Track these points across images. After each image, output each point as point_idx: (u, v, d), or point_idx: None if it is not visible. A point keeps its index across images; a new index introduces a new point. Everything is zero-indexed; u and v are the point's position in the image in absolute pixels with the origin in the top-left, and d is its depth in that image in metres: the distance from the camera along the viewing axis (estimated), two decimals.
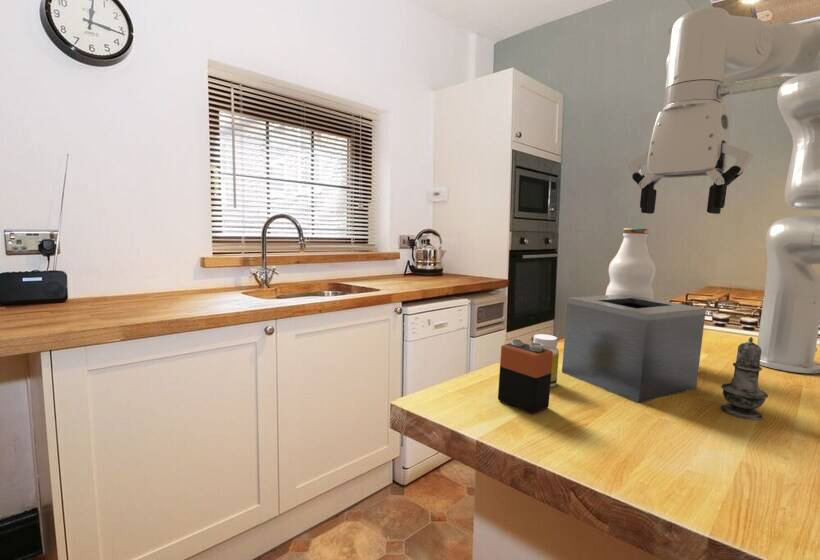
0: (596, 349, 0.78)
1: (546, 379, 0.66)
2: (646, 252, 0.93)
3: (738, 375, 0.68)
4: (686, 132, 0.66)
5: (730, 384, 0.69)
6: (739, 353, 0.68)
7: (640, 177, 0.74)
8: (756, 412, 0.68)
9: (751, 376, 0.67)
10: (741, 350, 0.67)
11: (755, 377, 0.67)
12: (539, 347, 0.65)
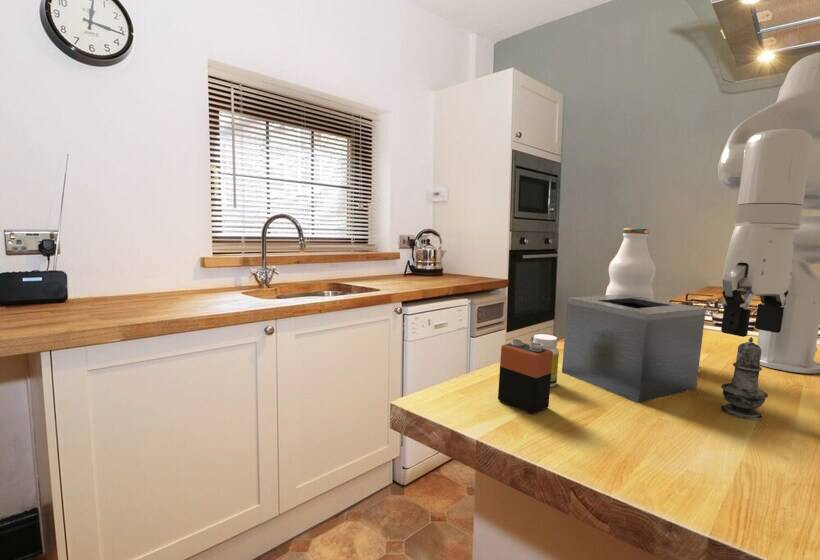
0: (596, 349, 0.78)
1: (546, 379, 0.66)
2: (646, 252, 0.93)
3: (738, 375, 0.68)
4: (783, 255, 0.64)
5: (730, 384, 0.69)
6: (739, 353, 0.68)
7: (740, 295, 0.62)
8: (756, 412, 0.68)
9: (751, 376, 0.67)
10: (741, 350, 0.67)
11: (755, 377, 0.67)
12: (539, 347, 0.65)
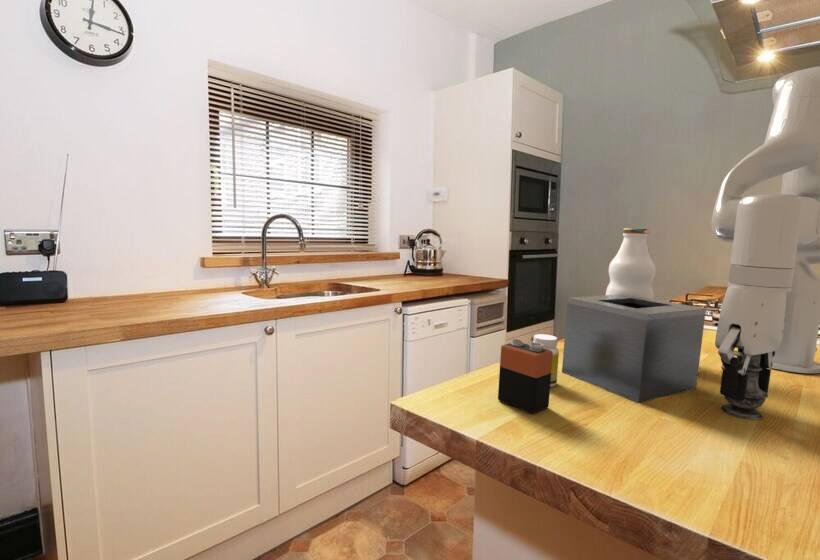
0: (596, 349, 0.78)
1: (546, 379, 0.66)
2: (646, 252, 0.93)
3: None
4: (775, 315, 0.65)
5: None
6: None
7: None
8: (756, 412, 0.68)
9: (751, 376, 0.67)
10: (741, 350, 0.67)
11: (755, 377, 0.67)
12: (539, 347, 0.65)
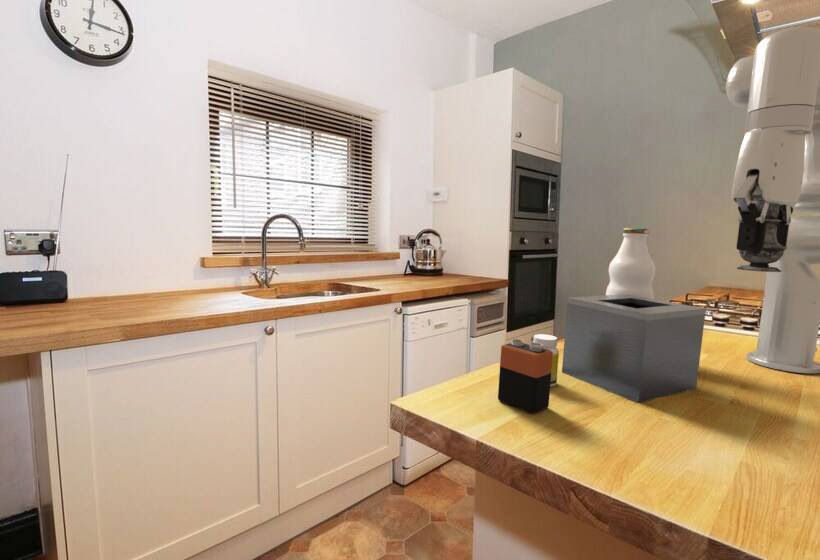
0: (596, 349, 0.78)
1: (546, 379, 0.66)
2: (646, 252, 0.93)
3: None
4: (794, 161, 0.63)
5: None
6: None
7: (756, 207, 0.62)
8: (774, 267, 0.65)
9: (769, 227, 0.64)
10: None
11: (773, 229, 0.64)
12: (539, 347, 0.65)
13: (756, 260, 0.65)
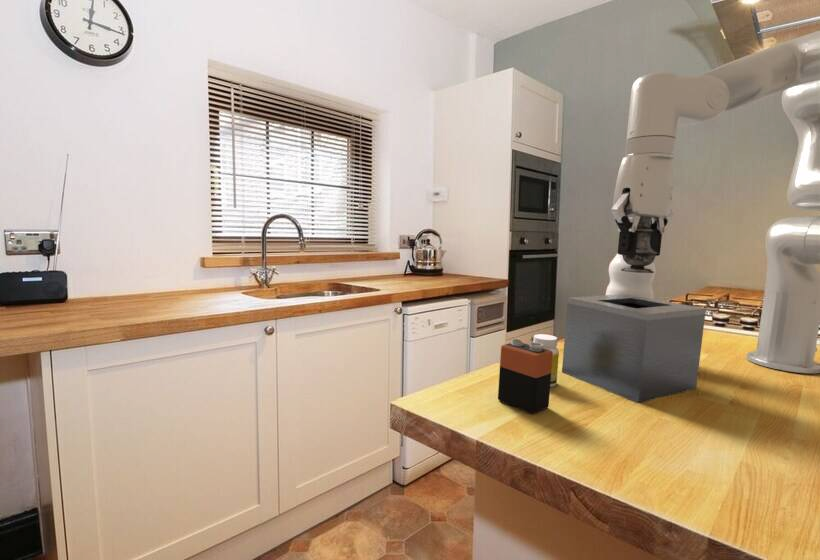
0: (596, 349, 0.78)
1: (546, 379, 0.66)
2: None
3: None
4: (661, 181, 0.76)
5: None
6: None
7: None
8: (648, 269, 0.78)
9: (643, 236, 0.77)
10: None
11: (646, 237, 0.77)
12: (539, 347, 0.65)
13: (633, 263, 0.78)
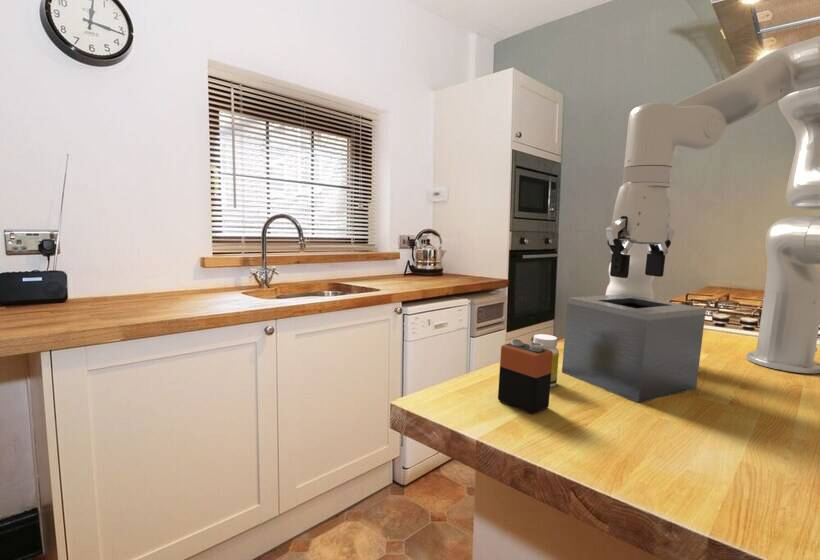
0: (596, 349, 0.78)
1: (546, 379, 0.66)
2: (646, 252, 0.93)
3: None
4: (658, 209, 0.76)
5: None
6: None
7: (620, 243, 0.75)
8: None
9: None
10: None
11: None
12: (539, 347, 0.65)
13: None
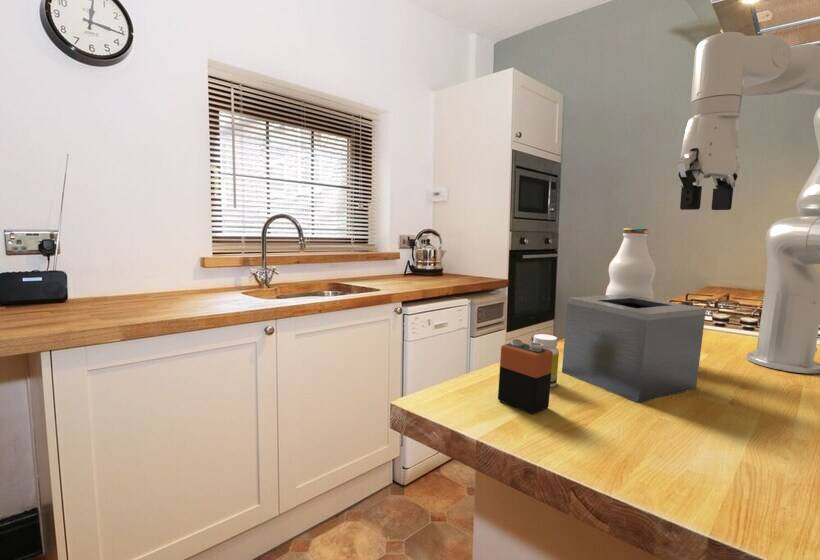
0: (596, 349, 0.78)
1: (546, 379, 0.66)
2: (646, 252, 0.93)
3: None
4: (728, 140, 0.77)
5: None
6: None
7: (692, 175, 0.76)
8: None
9: None
10: None
11: None
12: (539, 347, 0.65)
13: None
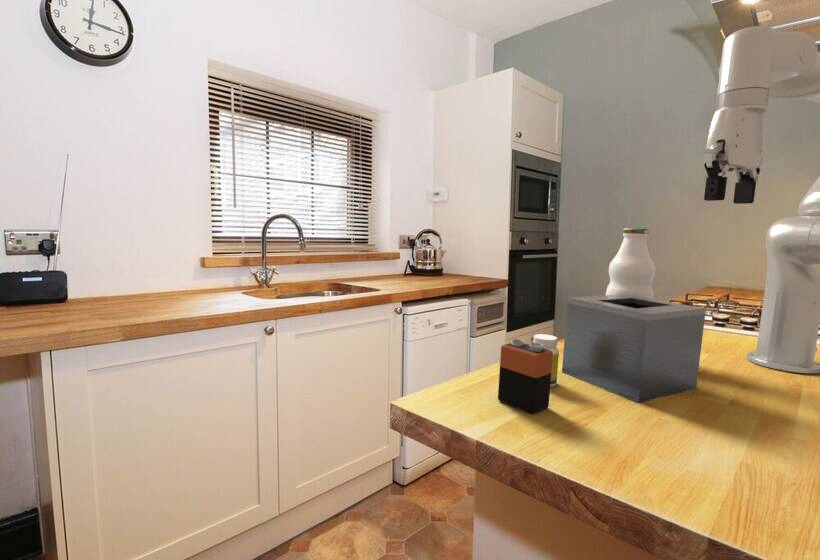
0: (596, 349, 0.78)
1: (546, 379, 0.66)
2: (646, 252, 0.93)
3: None
4: (754, 133, 0.78)
5: None
6: None
7: (718, 165, 0.77)
8: None
9: None
10: None
11: None
12: (539, 347, 0.65)
13: None
